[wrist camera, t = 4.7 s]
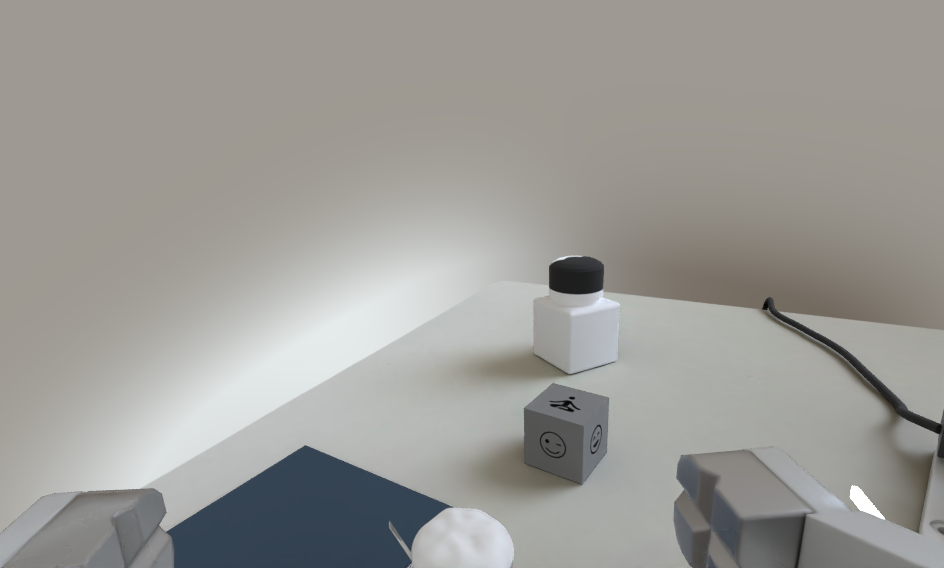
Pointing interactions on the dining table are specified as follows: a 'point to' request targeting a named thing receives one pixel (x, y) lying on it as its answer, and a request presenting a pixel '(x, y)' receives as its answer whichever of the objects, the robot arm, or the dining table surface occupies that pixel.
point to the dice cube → (566, 432)
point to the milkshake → (460, 541)
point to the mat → (306, 519)
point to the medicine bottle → (576, 317)
